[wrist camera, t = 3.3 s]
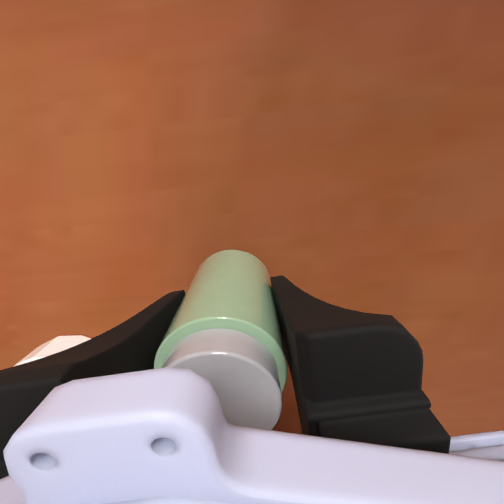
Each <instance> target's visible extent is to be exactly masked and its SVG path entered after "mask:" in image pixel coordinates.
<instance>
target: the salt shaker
mask: <svg viewBox="0 0 504 504" xmlns="http://www.w3.org/2000/svg"><path fill="white" fill-rule="evenodd" d="M166 367H168V368H181V369H190V370H192V371H194V372H196V373H198V374H199V375H201V376H203V377H205V378H207V379H209V381H210V382H211V384H212V385H213V387H214V389H215V390H216V392H217V393H218V395H219V398H220V402H221V406H222V410H223V414H224V416H225V418H226V420H227V422H228V423H230V424H232V425H236V426H244V427H251V428H259V429H266V430H272V429H273V427H274V426H275V424H276V423H277V421H278V419H279V416H280V413H281V409H282V391H283V389H284V387H285V384H286V380H287V373H288V371H287V362H286V356H285V351H284V346H283V341H282V336H281V331H280V326H279V320H278V315H277V310H276V306H275V302H274V298H273V293H272V287H271V280H270V275H269V273H268V271H267V269H266V267H265V266H264V264H263V263H262V262H261V261H260V260H259V259H257V258H256V257H255V256H253V255H251V254H249V253H247V252H244V251H239V250H225V251H220V252H217V253H215V254H213V255H211V256H210V257H208V258H207V259H206V260H205V261H203V263H202V264H201V265H200V267H199V268H198V270H197V272H196V274H195V276H194V278H193V280H192V282H191V284H190V286H189V288H188V290H187V292H186V294H185V296H184V298H183V300H182V302H181V304H180V306H179V308H178V310H177V312H176V314H175V316H174V318H173V320H172V322H171V324H170V326H169V328H168V330H167V332H166V334H165V336H164V338H163V340H162V342H161V344H160V346H159V348H158V351H157V353H156V356H155V360H154V369H158V368H166Z"/></svg>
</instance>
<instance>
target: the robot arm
mask: <svg viewBox="0 0 504 504" xmlns="http://www.w3.org/2000/svg"><path fill="white" fill-rule="evenodd" d="M270 280H271V287H272V293H273V298H274V302H275V306H276V310H277V315H278V320H279V326H280V331H281V336H282V341H283V346H284V351H285V355H286V359H287V362H288V365H289V369H290V372H291V376H292V381H293V386H294V391H295V396H296V401H297V407H298V412H299V417H300V423H301V428H302V433H303V434H296V433H289V432H281V431H274V430H266V429H259V428H251V427H244V426H236V425H232V424H230V423H228V422H227V420H226V418H225V416H224V414H223V410H222V406H221V402H220V398H219V395H218V393H217V392H216V390H215V389H214V387H213V385H212V384H211V382H210V381H209V379H207V378H205V377H203V376H201V375H199V374H198V373H196V372H194V371H192V370H190V369H181V368H168V367H166V368H158V369H154V360H155V356H156V353H157V351H158V348H159V346H160V344H161V342H162V340H163V338H164V336H165V334H166V332H167V330H168V328H169V326H170V324H171V322H172V320H173V318H174V316H175V314H176V312H177V310H178V308H179V306H180V304H181V302H182V300H183V298H184V296H185V292H184V290H182V291H175V292H171V293H169V294H167V295H165V296H163V297H162V298H160V299H159V300H157V301H156V302H154V303H153V304H151V305H150V306H148V307H147V308H145V309H144V310H142V311H141V312H139V313H138V314H136V315H135V316H133V317H131V318H130V319H128V320H127V321H125V322H123V323H122V324H120V325H118V326H116V327H114V328H112V329H111V330H109V331H107V332H105V333H103V334H101V335H99V336H96V337H94V338H92V339H90V340H87V341H85V342H83V343H81V344H78V345H76V346H74V347H71V348H68V349H66V350H63V351H61V352H58V353H55V354H52V355H49V356H47V357H44V358H40V359H37V360H34V361H31V362H27V363H24V364H21V365H17V366H14V367H11V368H7V369H3V370H0V504H504V430H502V431H494V432H485V433H477V434H469V435H461V436H452V437H450V436H449V435H448V433H447V432H446V431H445V429H444V428H443V426H442V425H441V424H440V422H439V421H438V420H437V418H436V417H435V416H434V414H433V413H432V412H431V410H430V409H429V408H430V407H431V403H430V400H429V399H428V398H427V396H426V395H425V394H424V392H423V391H422V390H421V386H422V371H423V354H422V349H421V347H420V345H419V343H418V341H417V340H416V339H415V338H414V337H413V336H412V335H411V334H410V333H409V332H408V331H407V330H406V329H405V328H404V326H403V325H401V324H400V323H399V322H398V321H397V320H396V319H395V318H394V317H393V316H391V315H381V314H371V313H363V312H358V311H353V310H349V309H344V308H341V307H338V306H334V305H331V304H328V303H326V302H323V301H321V300H319V299H317V298H315V297H313V296H311V295H309V294H307V293H306V292H304V291H302V290H301V289H299V288H298V287H296V286H295V285H294V284H293V283H291V282H290V281H289V280H288V279H286V278H285V277H284V276H277V277H270Z"/></svg>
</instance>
